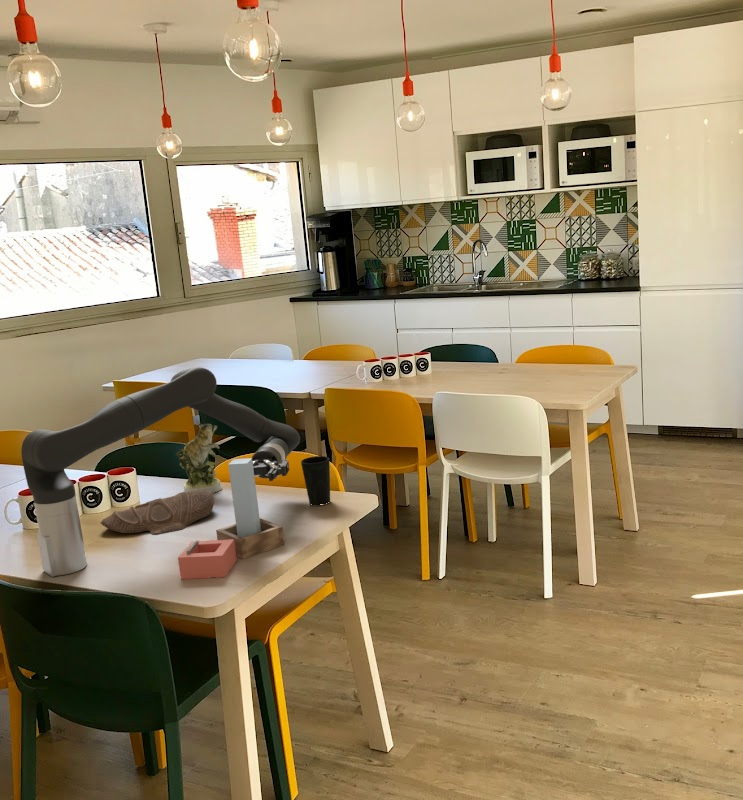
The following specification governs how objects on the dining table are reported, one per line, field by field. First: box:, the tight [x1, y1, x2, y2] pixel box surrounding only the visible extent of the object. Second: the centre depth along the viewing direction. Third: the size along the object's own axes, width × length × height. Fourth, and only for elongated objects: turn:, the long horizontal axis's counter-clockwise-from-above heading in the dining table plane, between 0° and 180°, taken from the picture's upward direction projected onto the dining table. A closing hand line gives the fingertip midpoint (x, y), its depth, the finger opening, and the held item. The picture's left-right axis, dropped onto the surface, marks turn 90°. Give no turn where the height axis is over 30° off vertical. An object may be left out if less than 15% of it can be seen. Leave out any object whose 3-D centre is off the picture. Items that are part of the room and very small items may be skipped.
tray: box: [215, 518, 285, 560], centre depth 216 cm, size 11×11×4 cm
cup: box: [300, 455, 331, 505], centre depth 245 cm, size 8×8×12 cm
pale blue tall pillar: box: [227, 457, 261, 538], centre depth 215 cm, size 4×4×20 cm
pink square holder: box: [177, 539, 238, 580], centre depth 204 cm, size 10×10×6 cm
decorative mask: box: [100, 490, 215, 536], centre depth 243 cm, size 23×7×30 cm
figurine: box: [175, 423, 223, 494], centre depth 267 cm, size 12×14×20 cm
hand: (253, 478), depth 221 cm, fingers open, 8 cm apart
